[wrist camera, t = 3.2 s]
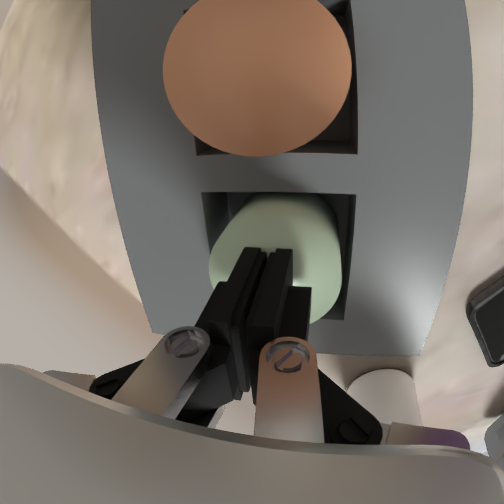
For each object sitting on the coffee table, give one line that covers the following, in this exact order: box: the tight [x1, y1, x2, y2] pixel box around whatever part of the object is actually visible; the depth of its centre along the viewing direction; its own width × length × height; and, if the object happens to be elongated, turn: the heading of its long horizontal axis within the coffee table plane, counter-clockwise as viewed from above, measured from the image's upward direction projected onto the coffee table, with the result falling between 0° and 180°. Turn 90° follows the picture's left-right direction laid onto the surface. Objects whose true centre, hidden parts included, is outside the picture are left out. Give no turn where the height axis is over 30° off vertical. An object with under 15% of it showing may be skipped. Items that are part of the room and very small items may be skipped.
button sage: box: [209, 192, 342, 324], centre depth 12 cm, size 5×5×4 cm
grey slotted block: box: [91, 0, 473, 356], centre depth 10 cm, size 24×14×4 cm, turn 4°
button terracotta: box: [163, 0, 352, 157], centre depth 8 cm, size 5×5×4 cm
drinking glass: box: [347, 369, 423, 426], centre depth 14 cm, size 7×7×15 cm
